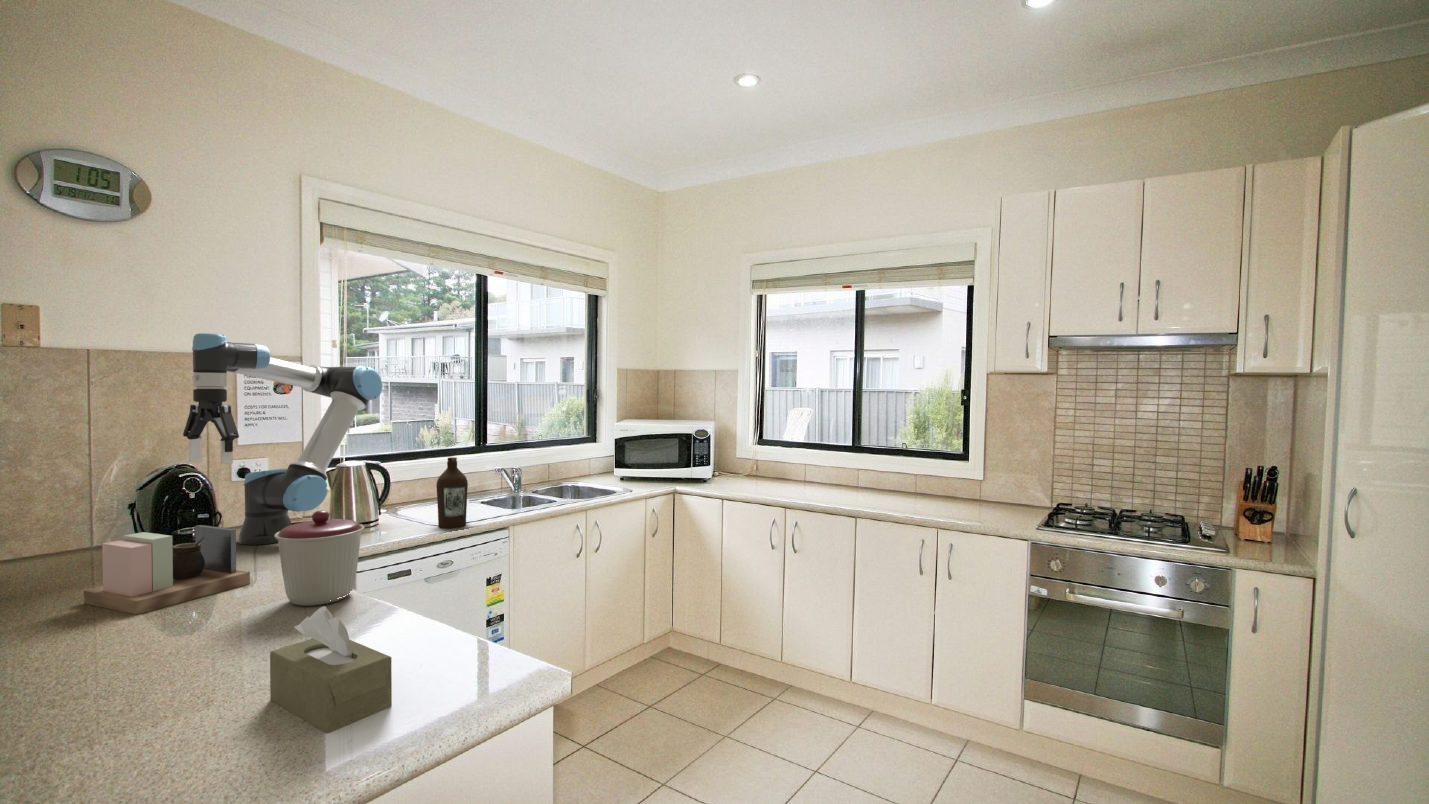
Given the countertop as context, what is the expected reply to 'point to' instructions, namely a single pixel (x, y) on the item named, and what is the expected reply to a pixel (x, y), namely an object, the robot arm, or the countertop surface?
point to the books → (138, 564)
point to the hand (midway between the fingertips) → (210, 462)
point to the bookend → (217, 548)
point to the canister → (319, 559)
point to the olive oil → (452, 496)
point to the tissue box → (329, 675)
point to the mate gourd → (187, 560)
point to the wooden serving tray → (168, 592)
